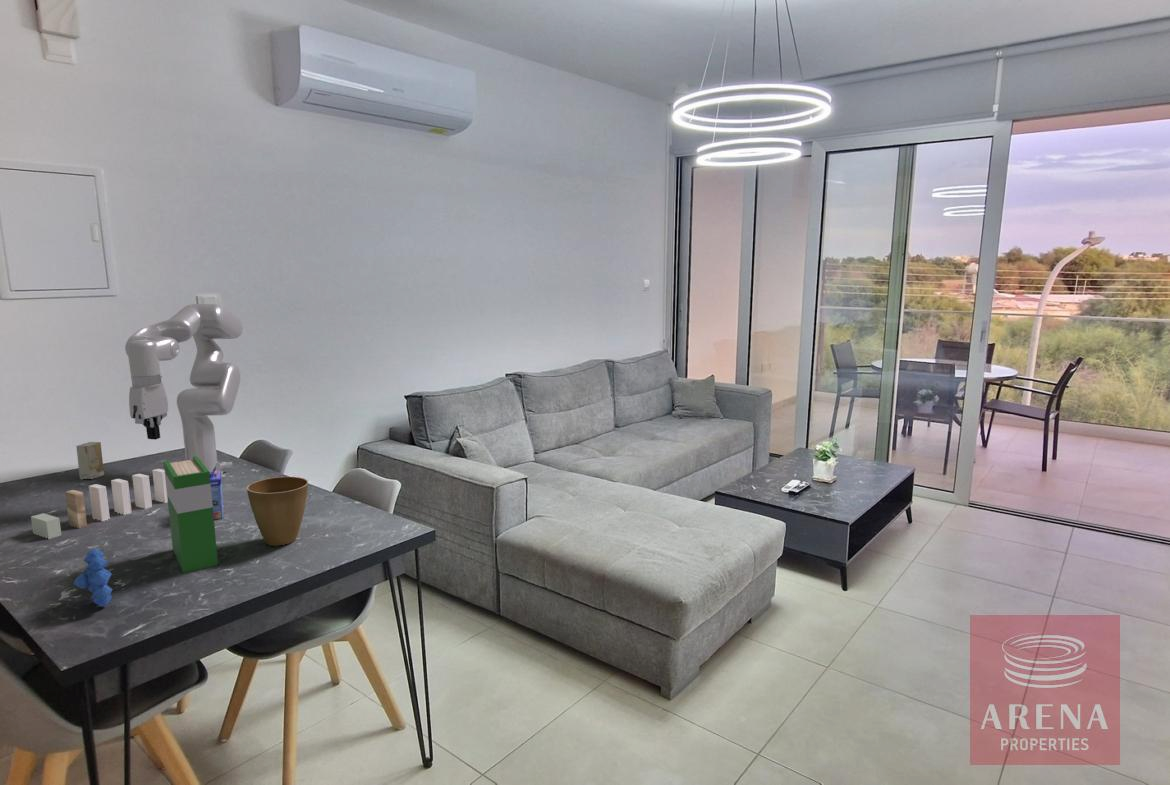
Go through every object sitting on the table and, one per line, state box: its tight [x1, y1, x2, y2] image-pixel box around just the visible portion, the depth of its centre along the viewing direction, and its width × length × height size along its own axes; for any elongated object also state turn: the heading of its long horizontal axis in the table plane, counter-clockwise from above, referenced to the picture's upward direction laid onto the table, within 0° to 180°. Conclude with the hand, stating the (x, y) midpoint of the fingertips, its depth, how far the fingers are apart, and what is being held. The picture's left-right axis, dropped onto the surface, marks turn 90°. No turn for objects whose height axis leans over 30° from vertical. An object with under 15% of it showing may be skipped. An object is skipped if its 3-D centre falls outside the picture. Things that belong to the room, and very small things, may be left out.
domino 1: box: [64, 489, 88, 529], centre depth 186 cm, size 2×5×10 cm, turn 63°
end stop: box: [30, 512, 62, 540], centre depth 180 cm, size 3×8×5 cm, turn 63°
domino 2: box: [88, 483, 111, 522], centre depth 191 cm, size 2×5×10 cm, turn 63°
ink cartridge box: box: [210, 466, 224, 520], centre depth 195 cm, size 10×6×14 cm, turn 28°
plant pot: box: [246, 476, 309, 547], centre depth 176 cm, size 15×15×16 cm
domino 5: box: [152, 468, 168, 504], centre depth 207 cm, size 2×5×10 cm, turn 63°
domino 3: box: [110, 478, 132, 516], centre depth 197 cm, size 2×5×10 cm, turn 63°
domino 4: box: [131, 473, 153, 510], centre depth 202 cm, size 2×5×10 cm, turn 63°
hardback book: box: [163, 456, 219, 574], centre depth 165 cm, size 18×7×24 cm, turn 39°
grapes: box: [73, 548, 113, 607], centre depth 142 cm, size 12×7×12 cm, turn 45°
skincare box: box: [75, 441, 105, 480], centre depth 231 cm, size 6×4×12 cm
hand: (154, 438), depth 204 cm, fingers closed
